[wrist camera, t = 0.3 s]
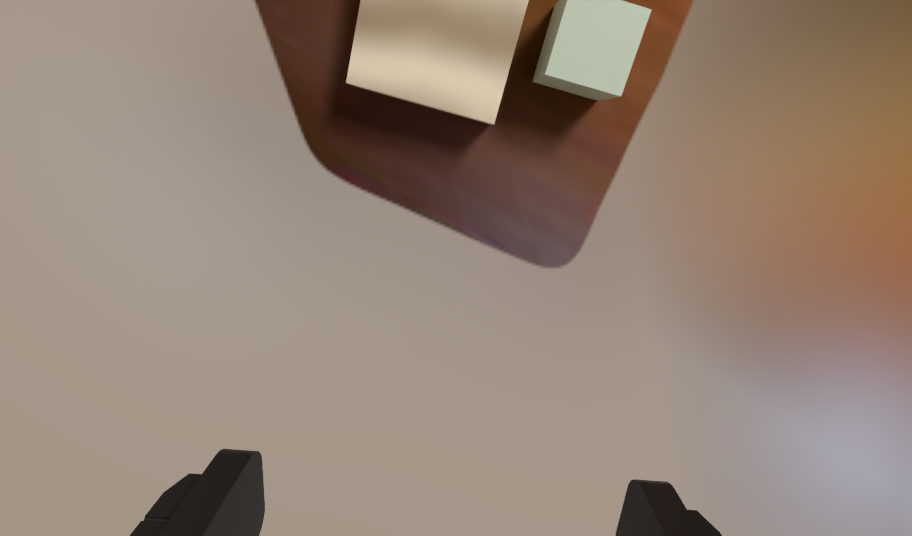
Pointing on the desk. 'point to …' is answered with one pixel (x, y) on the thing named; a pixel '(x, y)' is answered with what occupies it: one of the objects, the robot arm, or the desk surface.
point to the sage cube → (591, 47)
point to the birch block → (437, 52)
